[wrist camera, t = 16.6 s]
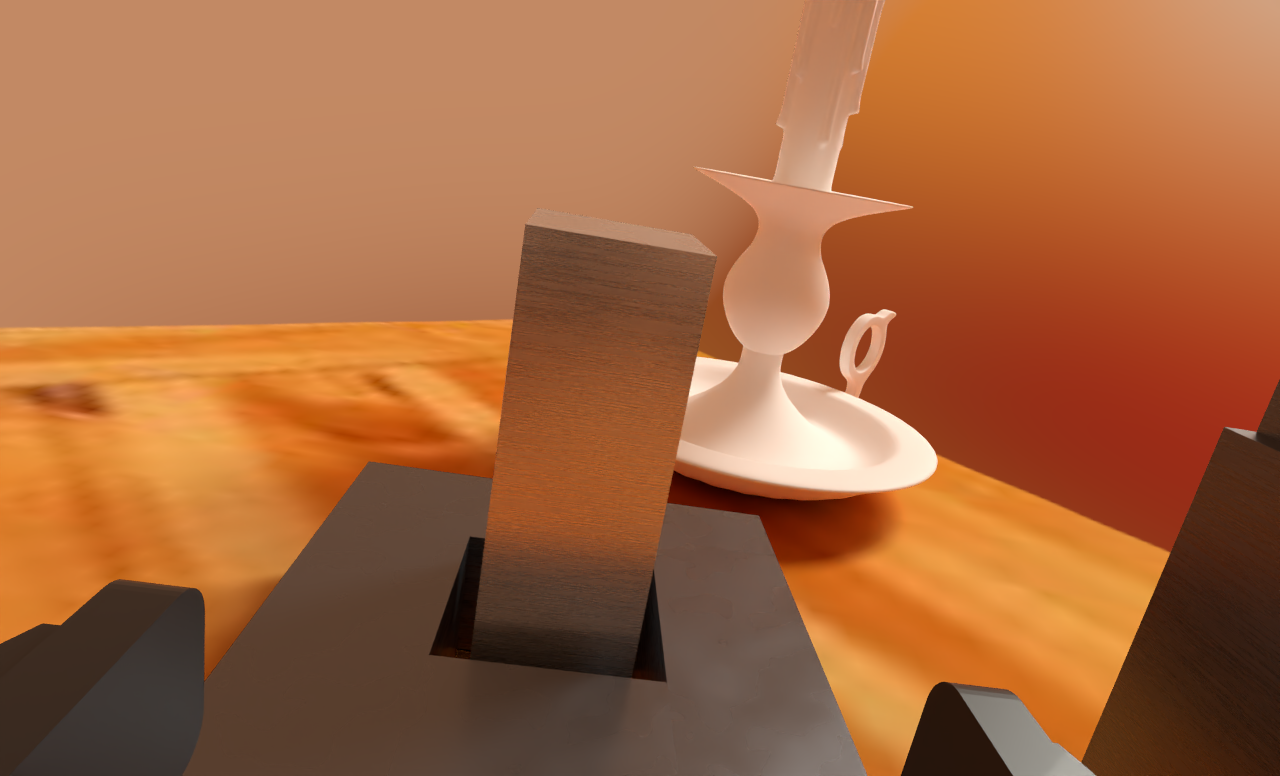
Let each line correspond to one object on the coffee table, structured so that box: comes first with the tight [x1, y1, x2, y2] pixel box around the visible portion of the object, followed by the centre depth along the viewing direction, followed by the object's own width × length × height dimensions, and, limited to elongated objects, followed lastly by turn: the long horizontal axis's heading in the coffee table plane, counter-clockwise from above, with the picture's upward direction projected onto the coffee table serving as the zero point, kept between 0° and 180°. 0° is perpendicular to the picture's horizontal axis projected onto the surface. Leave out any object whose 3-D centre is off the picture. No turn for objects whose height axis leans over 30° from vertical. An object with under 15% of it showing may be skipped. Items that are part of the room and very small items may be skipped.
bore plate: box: [182, 462, 867, 776], centre depth 21 cm, size 14×14×4 cm
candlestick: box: [674, 0, 937, 501], centre depth 42 cm, size 21×25×28 cm
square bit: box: [470, 208, 717, 678], centre depth 20 cm, size 4×4×14 cm
